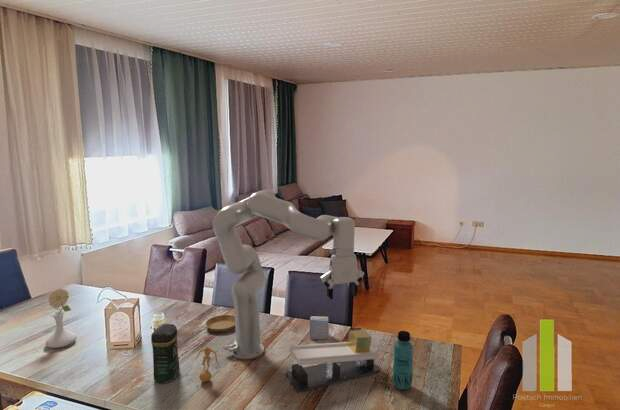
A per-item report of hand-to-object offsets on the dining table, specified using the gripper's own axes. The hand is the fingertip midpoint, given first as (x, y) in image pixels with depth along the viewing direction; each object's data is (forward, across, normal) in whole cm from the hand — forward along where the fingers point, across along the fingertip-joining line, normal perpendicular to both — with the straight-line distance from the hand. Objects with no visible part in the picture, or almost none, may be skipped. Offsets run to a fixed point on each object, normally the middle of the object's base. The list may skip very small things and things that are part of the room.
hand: (342, 296), depth 148 cm
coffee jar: (+28, -62, +16) cm, 70 cm away
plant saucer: (+29, -37, +48) cm, 67 cm away
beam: (+20, -6, -5) cm, 21 cm away
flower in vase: (+30, -102, +58) cm, 121 cm away
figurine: (+28, -49, +8) cm, 57 cm away
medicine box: (+27, 0, +22) cm, 35 cm away
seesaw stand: (+27, -6, -5) cm, 28 cm away
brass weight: (+19, +5, -5) cm, 21 cm away
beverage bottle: (+26, +13, -22) cm, 37 cm away
